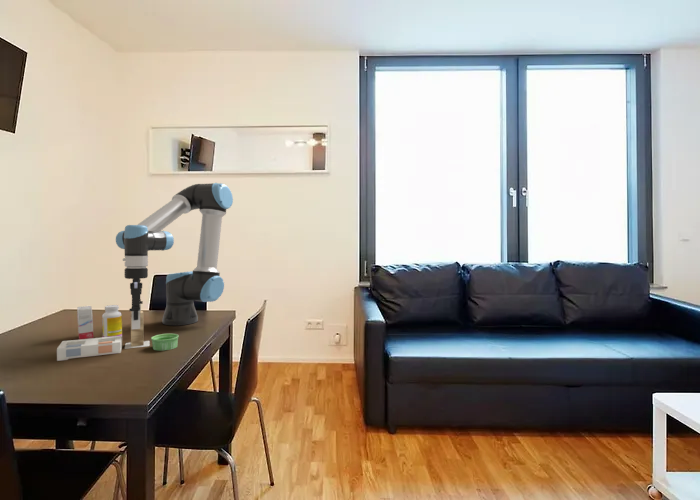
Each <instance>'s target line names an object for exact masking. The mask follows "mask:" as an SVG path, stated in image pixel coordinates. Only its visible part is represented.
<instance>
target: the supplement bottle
mask: <svg viewBox="0 0 700 500" xmlns="http://www.w3.org/2000/svg"><path fill="white" fill-rule="evenodd" d="M119 309H120V308H119V304H118V305H117V304H110V305H105V306H104V311H105V312H104V313H102V315H101V321H102V322H101V323H102V327H101V328H102V329H101V330H102V337H113V336H122V337H123V320H122V318H123V317H122V313H121V311H119Z"/></svg>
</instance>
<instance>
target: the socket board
mask: <svg viewBox="0 0 700 500" xmlns="http://www.w3.org/2000/svg"><path fill="white" fill-rule="evenodd" d="M122 348H123V335H122V336H113V337H103V336H102V337H95V338H94V337H93V338H89V339H80V340H79V339H73V340H71V339H70V340H62V341H61V343H60V344H59V345H58V346H57V348H56V361H57V362H58V361H68V360H70V359H77V358H86V357H95V356H96V357H97V356H102V355H113V354H121V353H122Z"/></svg>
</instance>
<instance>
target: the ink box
mask: <svg viewBox="0 0 700 500" xmlns="http://www.w3.org/2000/svg"><path fill="white" fill-rule="evenodd" d="M76 309H77V312H76V313H77V333H78V340H80V339H91V338H94V321H93V309H92V306H91V305H85V306H77V308H76Z"/></svg>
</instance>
